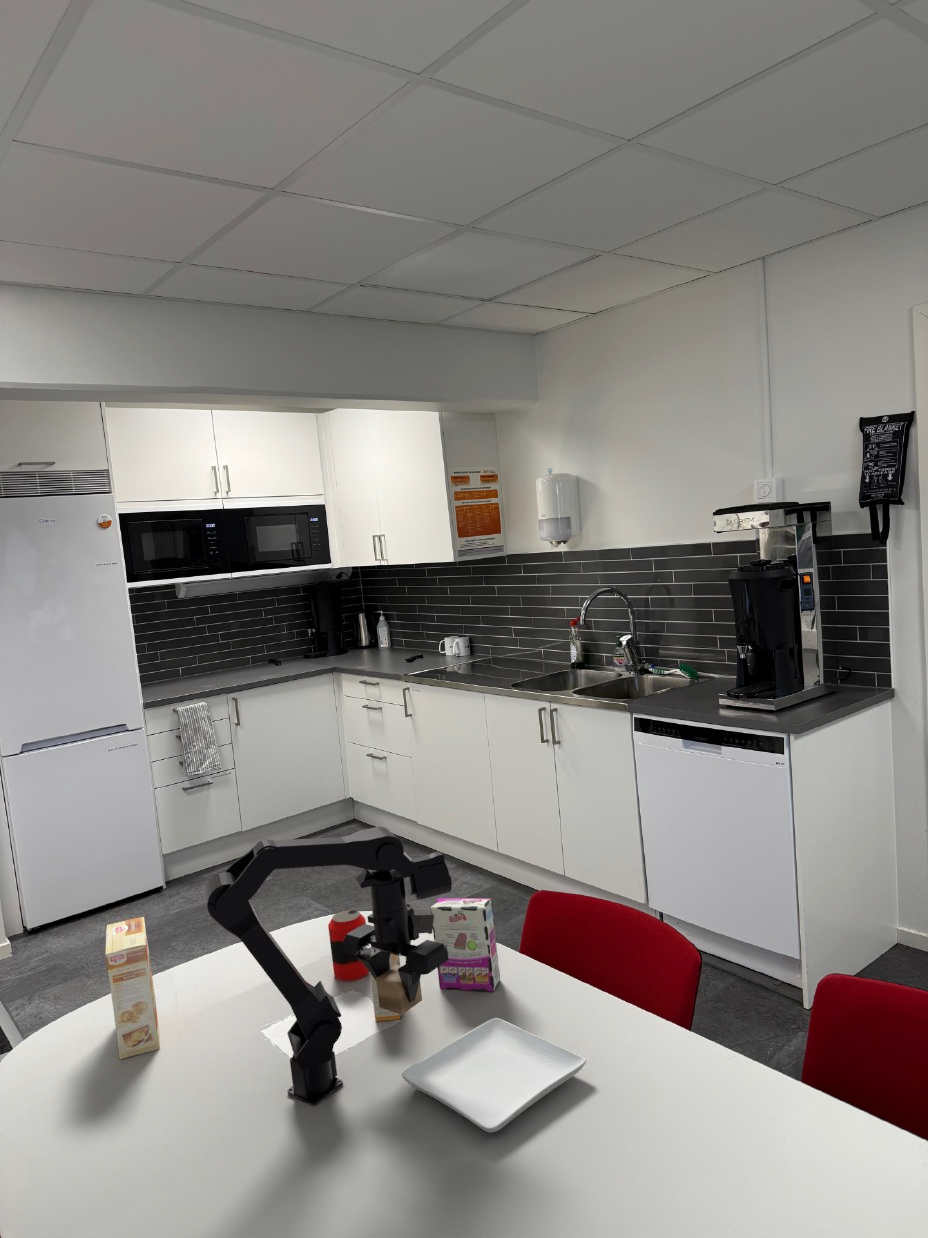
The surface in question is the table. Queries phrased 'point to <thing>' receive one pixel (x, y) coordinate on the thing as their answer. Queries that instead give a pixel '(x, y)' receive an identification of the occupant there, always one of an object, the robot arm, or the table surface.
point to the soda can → (343, 962)
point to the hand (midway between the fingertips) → (400, 998)
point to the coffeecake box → (132, 987)
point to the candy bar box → (466, 943)
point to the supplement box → (379, 1012)
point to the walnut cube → (394, 992)
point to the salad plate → (493, 1073)
